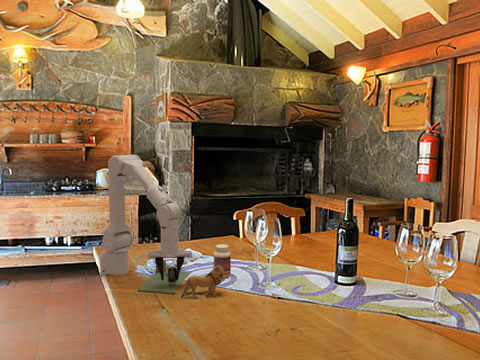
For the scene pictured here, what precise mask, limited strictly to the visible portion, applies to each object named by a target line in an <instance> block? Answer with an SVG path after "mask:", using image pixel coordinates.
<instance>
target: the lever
mask: <svg viewBox="0 0 480 360" xmlns="http://www.w3.org/2000/svg"><path fill="white" fill-rule="evenodd" d="M165 274H166V275H168V282H169V285H176V281H177V280H176V275H177V266H173V265H168V266H167V267H166V269H165Z"/></svg>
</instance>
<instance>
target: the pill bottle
mask: <svg viewBox="0 0 480 360" xmlns="http://www.w3.org/2000/svg"><path fill="white" fill-rule="evenodd" d="M229 248H230V247H229V245H228V244H217V245H215V252H214V253H213V268H214V267H216V266H221V267H223V268H224V269H223V270H224V277H223V279H225V278H228V277H230V276H231V265H232V264H231V260H232V259H231V257H232V254H231V252H230V251H229Z"/></svg>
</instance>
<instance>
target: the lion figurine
mask: <svg viewBox="0 0 480 360" xmlns="http://www.w3.org/2000/svg"><path fill="white" fill-rule="evenodd" d="M223 269H224V268H223V267H221V266H216V267H214V266H213V267H212V270H210V272H209V273H207V274H206V275H200V276H198V275H191V276H190V277H189V276H188V277H187V278H186V280H185V283H184V287H183V288H184V289H183V292H182V294H181V296H180V298H184V297H187V296H188V297H189V293H187V292H188V291H189V290H190V289H191V295H192V296H193V298H194V299H199V296H198V295H196V293H195V292H196V289H197V287H199V288H203V289H204V288H206V289H208V291H207V292H208V294H209V295H211V294H212V296H213V297H217V294H216V293H215V292H216V287H218V286H220V285H221V283H222V281H223V279H224V278H223V277H224V270H223Z"/></svg>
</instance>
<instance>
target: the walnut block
mask: <svg viewBox="0 0 480 360" xmlns="http://www.w3.org/2000/svg"><path fill="white" fill-rule="evenodd" d="M166 268H167V260H166V259H163V270H164V272H165V269H166ZM156 273H160V272H159V269H158V267H157V265H156V264H155V274H156Z"/></svg>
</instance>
